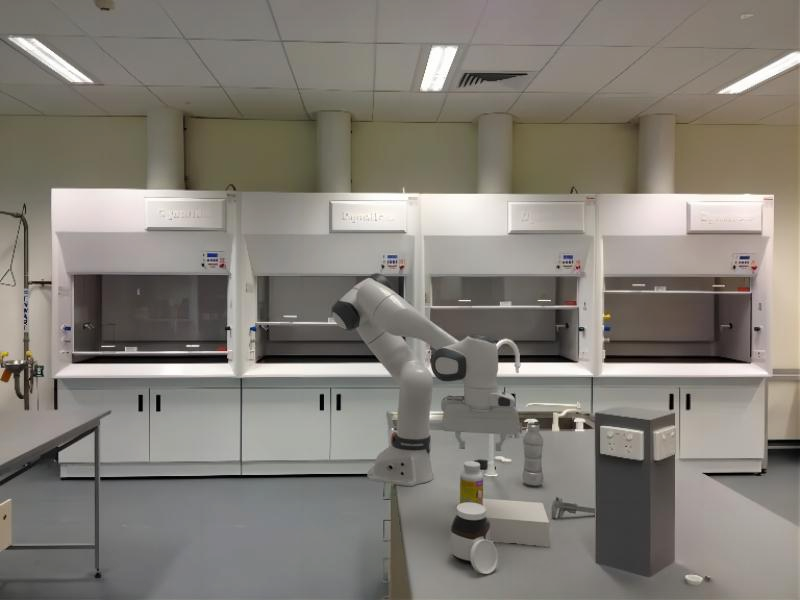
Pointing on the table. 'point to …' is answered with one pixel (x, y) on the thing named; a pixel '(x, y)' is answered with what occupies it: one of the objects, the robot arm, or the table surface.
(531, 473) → the plastic bottle
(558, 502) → the caliper
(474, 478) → the supplement bottle
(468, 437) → the table surface
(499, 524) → the sleeve
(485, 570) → the spread jar
